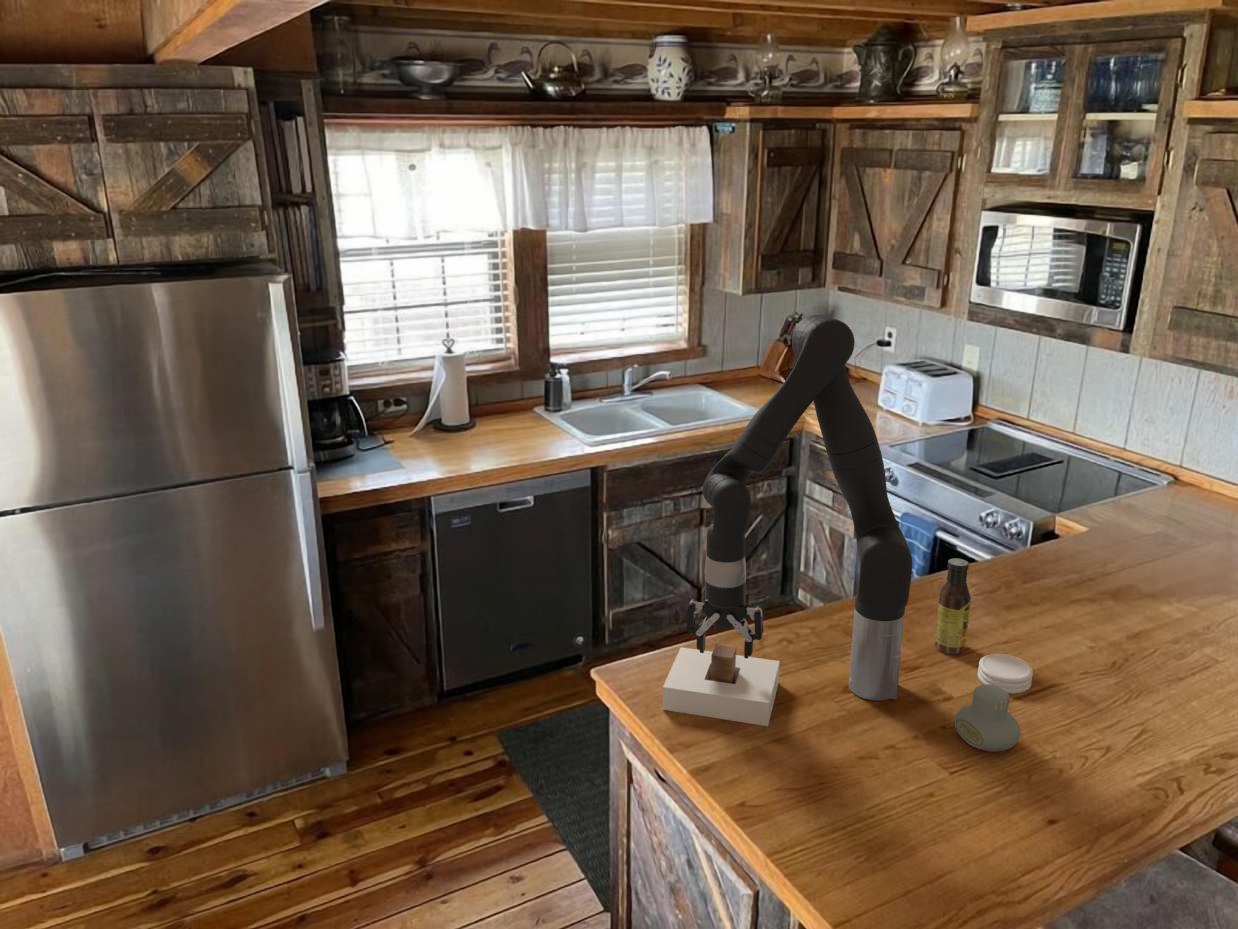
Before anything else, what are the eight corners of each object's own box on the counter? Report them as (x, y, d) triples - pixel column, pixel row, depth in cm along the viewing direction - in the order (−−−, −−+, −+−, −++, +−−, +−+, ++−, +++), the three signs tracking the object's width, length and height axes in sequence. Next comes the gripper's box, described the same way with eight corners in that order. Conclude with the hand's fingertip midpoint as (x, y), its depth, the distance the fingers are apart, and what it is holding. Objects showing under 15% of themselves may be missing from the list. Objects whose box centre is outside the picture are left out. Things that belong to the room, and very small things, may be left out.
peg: (734, 692, 182) (736, 647, 179) (730, 703, 179) (732, 658, 175) (714, 689, 183) (715, 644, 180) (710, 700, 180) (711, 655, 177)
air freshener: (945, 730, 170) (951, 682, 167) (980, 719, 173) (987, 672, 170) (990, 764, 161) (997, 715, 157) (1026, 752, 164) (1033, 703, 160)
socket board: (778, 683, 185) (779, 661, 184) (768, 726, 172) (769, 703, 170) (680, 668, 191) (680, 647, 189) (662, 709, 177) (662, 686, 175)
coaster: (1035, 697, 180) (1038, 681, 179) (981, 692, 182) (983, 676, 181) (1025, 670, 189) (1027, 655, 188) (973, 665, 191) (975, 650, 190)
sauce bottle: (966, 657, 193) (977, 570, 187) (935, 654, 195) (945, 568, 188) (962, 641, 199) (972, 557, 193) (932, 639, 201) (941, 554, 194)
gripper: (766, 572, 174) (764, 648, 179) (691, 564, 178) (691, 639, 183) (761, 589, 167) (759, 668, 172) (683, 582, 171) (683, 659, 176)
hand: (724, 653), depth 178 cm, fingers open, 8 cm apart
